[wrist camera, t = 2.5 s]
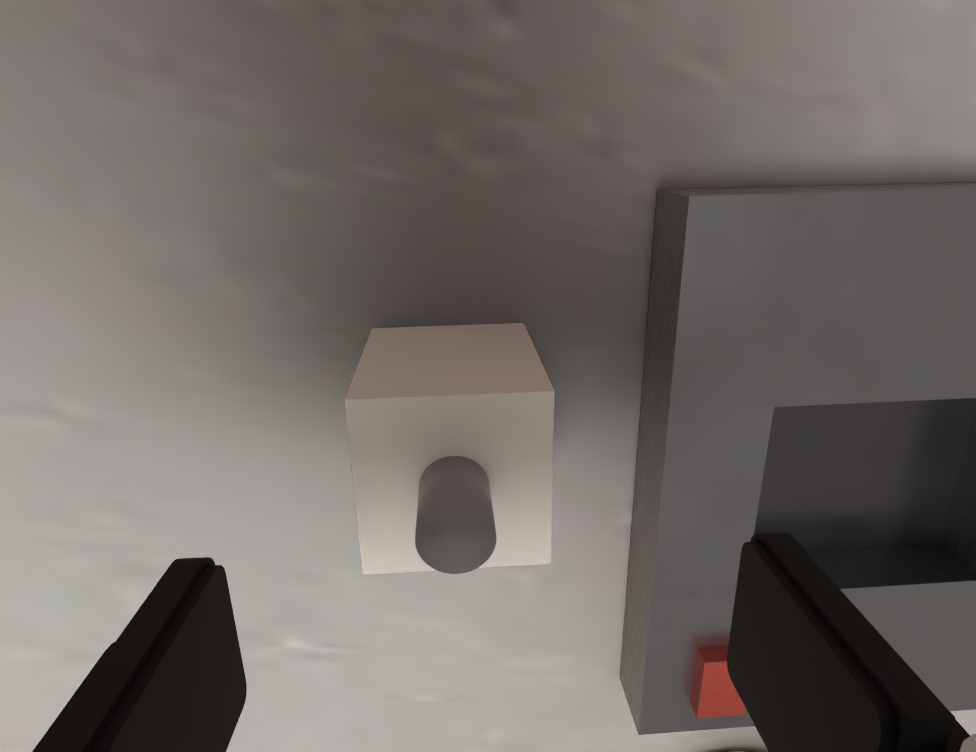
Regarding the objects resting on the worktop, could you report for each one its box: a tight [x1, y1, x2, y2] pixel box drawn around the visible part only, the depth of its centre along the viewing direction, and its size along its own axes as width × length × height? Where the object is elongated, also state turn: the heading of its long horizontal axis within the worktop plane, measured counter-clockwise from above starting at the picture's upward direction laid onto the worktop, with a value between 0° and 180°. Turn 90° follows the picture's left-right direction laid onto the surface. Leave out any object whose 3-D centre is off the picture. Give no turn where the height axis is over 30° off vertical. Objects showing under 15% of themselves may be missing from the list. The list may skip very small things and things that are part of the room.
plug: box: [344, 323, 555, 575], centre depth 16 cm, size 4×4×8 cm
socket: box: [620, 182, 976, 735], centre depth 19 cm, size 18×14×3 cm
